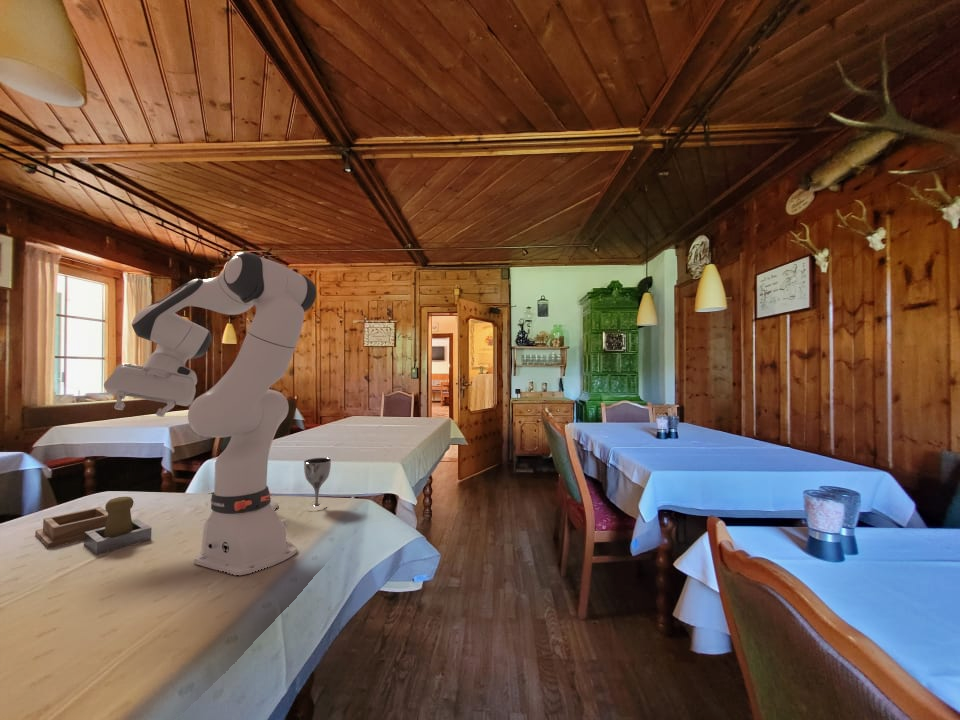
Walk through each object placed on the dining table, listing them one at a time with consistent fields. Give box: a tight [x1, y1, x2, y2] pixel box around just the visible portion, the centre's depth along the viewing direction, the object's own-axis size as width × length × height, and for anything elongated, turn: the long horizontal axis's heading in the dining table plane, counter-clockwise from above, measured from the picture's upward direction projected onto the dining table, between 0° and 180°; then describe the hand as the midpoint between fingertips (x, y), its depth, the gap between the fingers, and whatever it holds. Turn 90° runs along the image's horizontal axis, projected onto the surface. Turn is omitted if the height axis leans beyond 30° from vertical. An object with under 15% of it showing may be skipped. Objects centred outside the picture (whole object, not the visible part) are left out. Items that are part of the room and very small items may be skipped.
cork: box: [103, 496, 134, 538], centre depth 97 cm, size 6×6×11 cm
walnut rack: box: [34, 506, 108, 549], centre depth 103 cm, size 14×13×4 cm
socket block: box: [83, 519, 152, 556], centre depth 97 cm, size 10×10×3 cm
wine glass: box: [303, 457, 332, 507], centre depth 123 cm, size 8×8×15 cm
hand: (139, 412), depth 106 cm, fingers open, 8 cm apart
